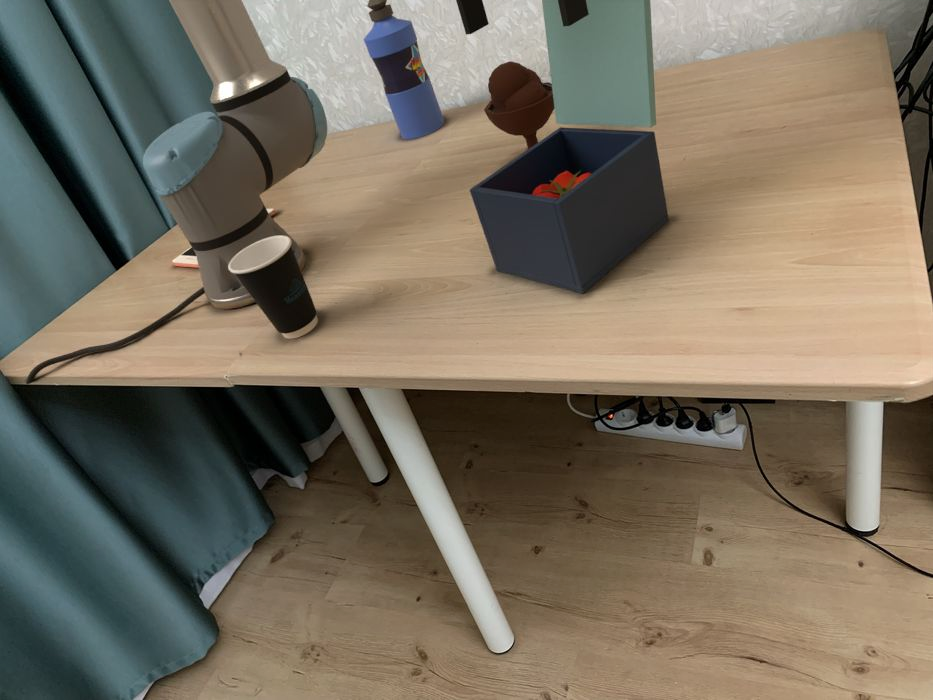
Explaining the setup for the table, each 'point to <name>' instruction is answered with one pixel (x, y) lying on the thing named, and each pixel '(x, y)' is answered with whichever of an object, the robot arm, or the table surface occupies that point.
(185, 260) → the cell phone
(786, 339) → the table surface
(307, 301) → the dixie cup
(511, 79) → the ice cream bowl
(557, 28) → the chest lid
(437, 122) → the water bottle
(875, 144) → the table surface
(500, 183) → the chest
